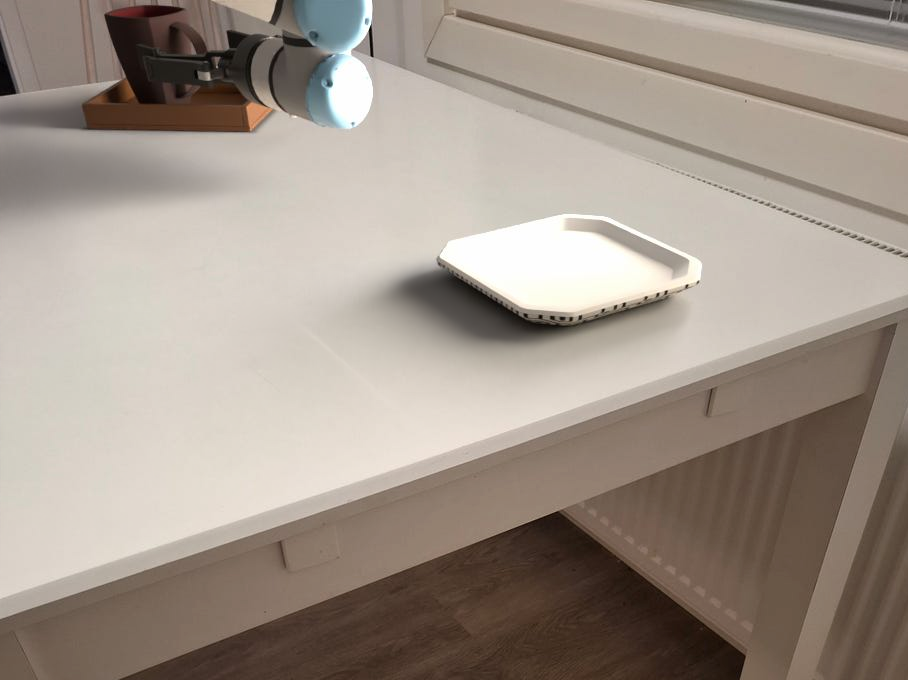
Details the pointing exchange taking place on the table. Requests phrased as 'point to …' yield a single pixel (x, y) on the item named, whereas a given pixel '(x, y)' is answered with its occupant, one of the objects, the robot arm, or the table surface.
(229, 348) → the table surface
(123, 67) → the cup
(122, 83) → the tray
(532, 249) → the plate
